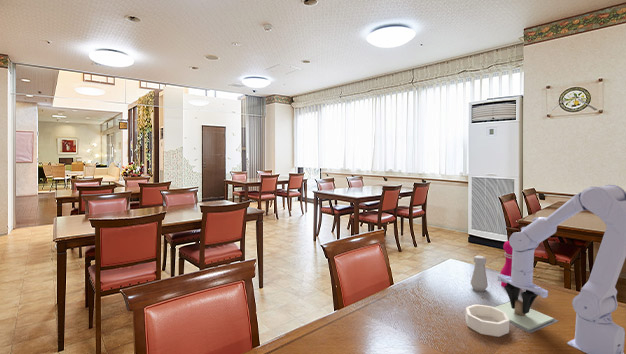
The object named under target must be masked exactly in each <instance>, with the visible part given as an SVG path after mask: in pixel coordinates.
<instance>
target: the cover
mask: <svg viewBox="0 0 626 354" xmlns="http://www.w3.org/2000/svg"><path fill="white" fill-rule="evenodd" d="M507 302H508V303H506V302H504V303H505V304H503V303H501V304H502V305H500V304H498V305H499V306H497V305H495V306H496V307H494V306H493V307H494V308H496V309H498V310H501V311H503V312H505V313H506V315H507V316H508V318H509V320H510V322H512V323H514V324H516V325H518V326H520V327H522V328H525V329H527V330H531V329H534V328H536V327H538V326H541V325H543V324H545V323H548V322H550V321H553V320H554V319H555V318H554V317H551V316H549V315H548V314H544V313H542V312H540V311H537V310H536V309H532V308H530V310H529V313H526V314H524V313H523V300H522V299H519V298H518V299H516V300H515V309H513V308H512V307H511V303H510V302H509V301H507Z"/></svg>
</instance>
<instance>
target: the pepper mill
mask: <svg viewBox="0 0 626 354" xmlns="http://www.w3.org/2000/svg"><path fill="white" fill-rule="evenodd" d="M502 247H503V251H504V255H503V256H504V257H505V262H504V265H503V267H502V268H501V270H500V273H499V275H501V274H502V275H505V276H510V277H511V272H512V252H513V248H512V247H511V246H510V243H509V240H506V241H505V242H504V243H503V246H502ZM500 284H501V288H504V286H506V285H507V283H505V282H500Z"/></svg>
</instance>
